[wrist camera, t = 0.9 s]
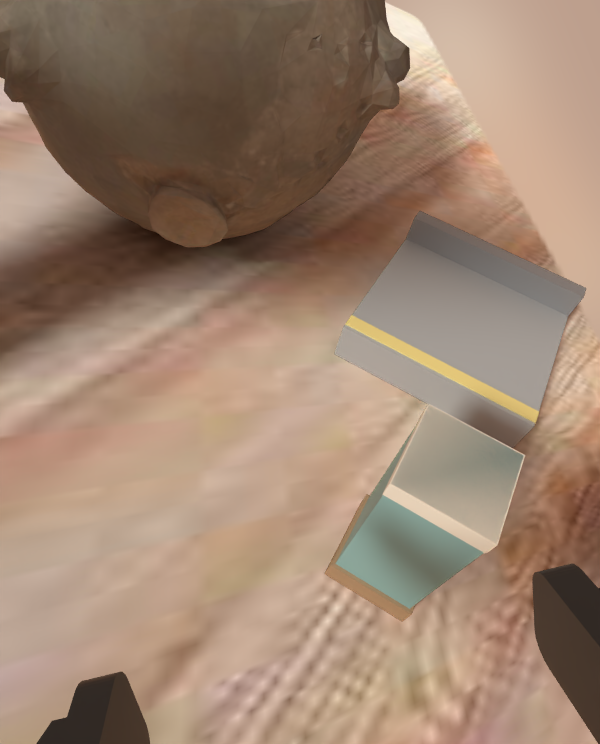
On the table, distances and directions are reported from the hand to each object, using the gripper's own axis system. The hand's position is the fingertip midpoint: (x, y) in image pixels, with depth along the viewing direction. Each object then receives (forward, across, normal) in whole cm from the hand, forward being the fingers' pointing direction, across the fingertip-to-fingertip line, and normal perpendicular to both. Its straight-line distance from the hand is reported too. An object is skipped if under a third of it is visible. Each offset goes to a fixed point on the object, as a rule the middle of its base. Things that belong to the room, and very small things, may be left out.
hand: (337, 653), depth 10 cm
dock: (+31, -14, +6) cm, 34 cm away
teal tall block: (+17, -4, +13) cm, 22 cm away
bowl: (+43, +3, -8) cm, 44 cm away
